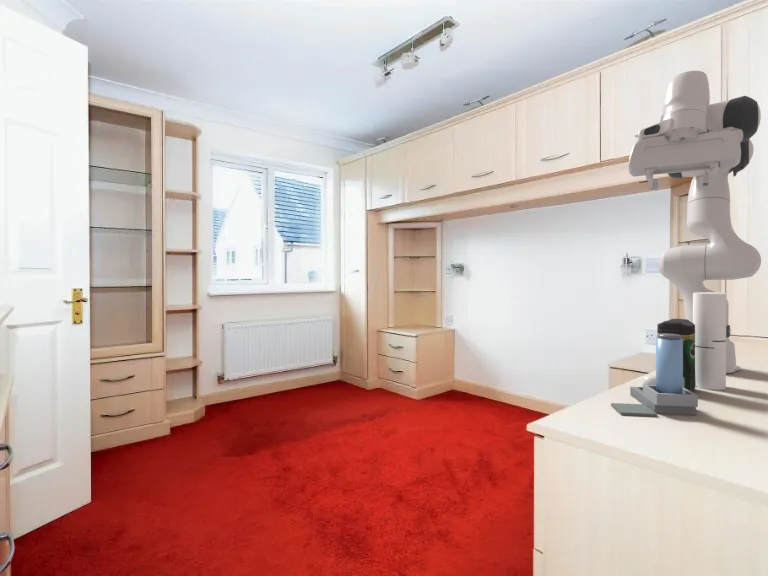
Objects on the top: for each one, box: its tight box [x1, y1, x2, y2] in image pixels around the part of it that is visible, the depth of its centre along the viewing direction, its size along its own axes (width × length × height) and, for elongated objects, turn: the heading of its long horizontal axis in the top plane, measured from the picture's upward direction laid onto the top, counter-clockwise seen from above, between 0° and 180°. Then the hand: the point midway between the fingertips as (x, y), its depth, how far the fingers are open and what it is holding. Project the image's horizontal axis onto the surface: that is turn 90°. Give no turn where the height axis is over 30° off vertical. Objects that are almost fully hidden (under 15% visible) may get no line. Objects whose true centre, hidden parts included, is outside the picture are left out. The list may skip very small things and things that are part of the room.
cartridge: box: [655, 334, 683, 394], centre depth 97 cm, size 5×5×15 cm
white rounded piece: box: [642, 375, 656, 386], centre depth 106 cm, size 4×4×3 cm
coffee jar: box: [656, 318, 697, 392], centre depth 114 cm, size 10×8×19 cm
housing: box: [629, 384, 699, 416], centre depth 101 cm, size 16×8×4 cm, turn 169°
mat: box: [610, 402, 658, 417], centre depth 97 cm, size 7×7×1 cm
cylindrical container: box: [693, 292, 727, 391], centre depth 116 cm, size 7×7×25 cm
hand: (679, 186), depth 94 cm, fingers open, 8 cm apart
